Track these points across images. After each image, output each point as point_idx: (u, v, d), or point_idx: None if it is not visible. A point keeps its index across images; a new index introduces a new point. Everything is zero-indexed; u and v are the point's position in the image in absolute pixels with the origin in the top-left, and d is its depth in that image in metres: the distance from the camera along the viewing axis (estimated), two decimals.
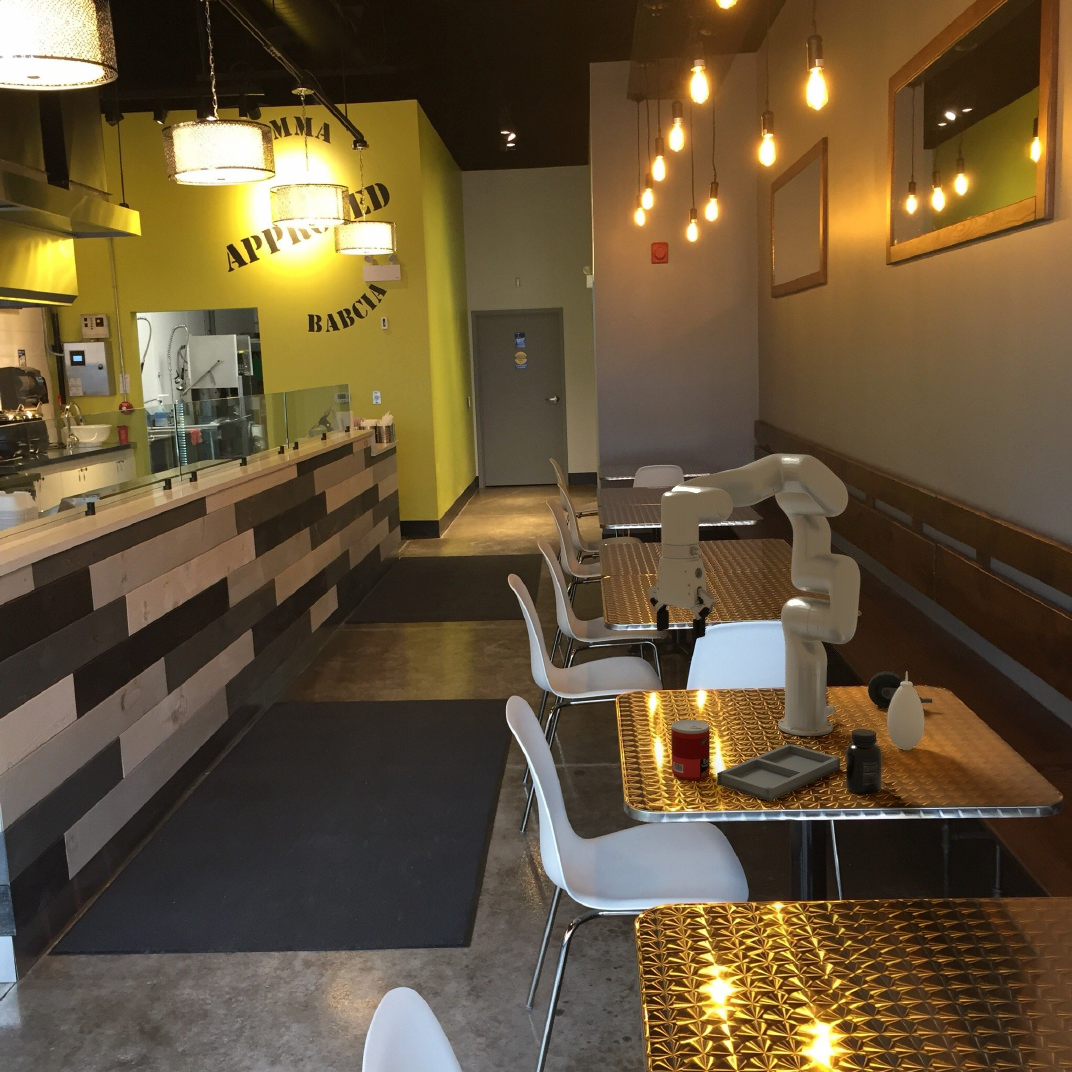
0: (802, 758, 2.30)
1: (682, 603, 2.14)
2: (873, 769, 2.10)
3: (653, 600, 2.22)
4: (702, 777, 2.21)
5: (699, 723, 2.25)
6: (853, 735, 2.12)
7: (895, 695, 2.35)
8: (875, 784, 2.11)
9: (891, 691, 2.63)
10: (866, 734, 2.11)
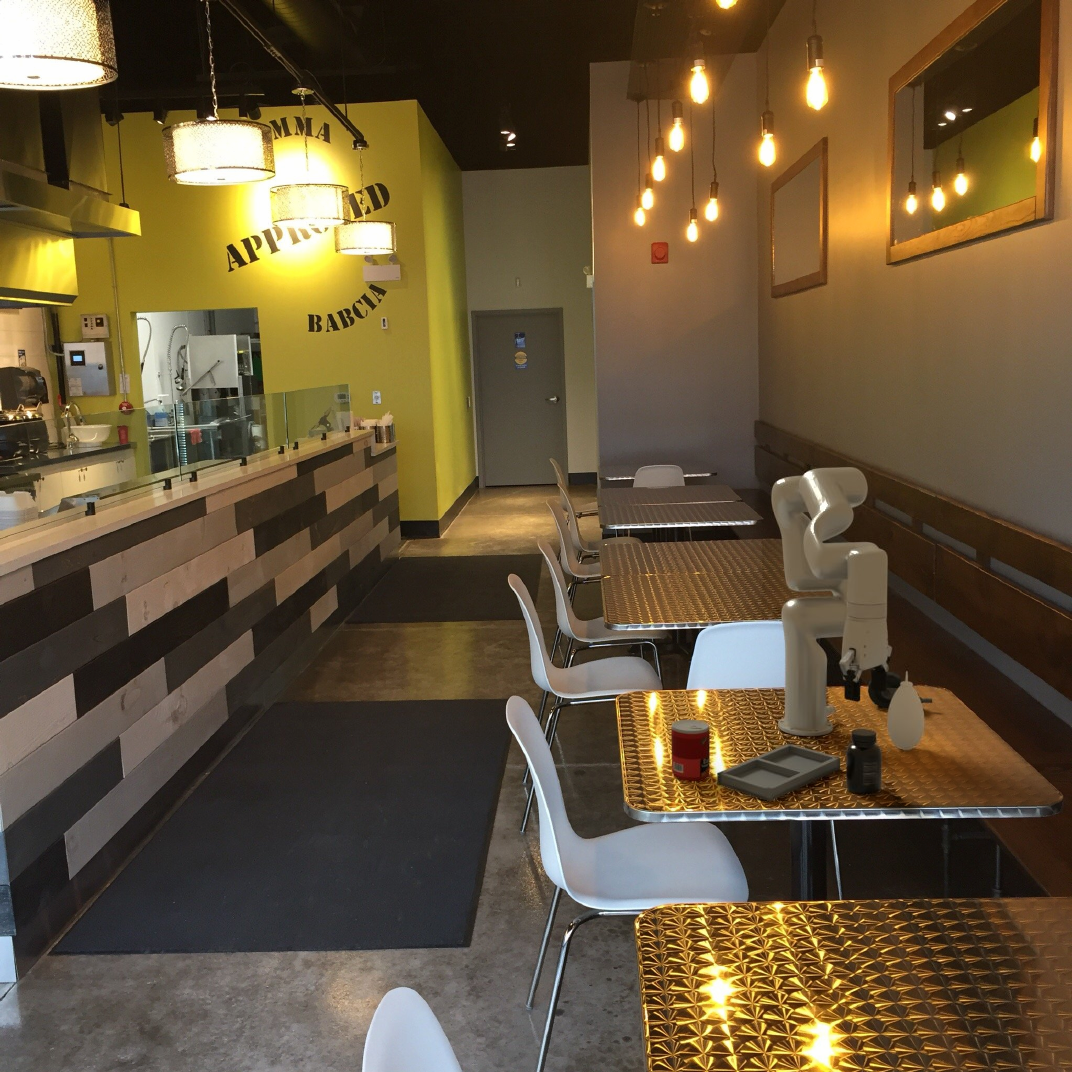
0: (802, 758, 2.30)
1: (882, 660, 2.10)
2: (873, 769, 2.10)
3: None
4: (702, 777, 2.21)
5: (699, 723, 2.25)
6: (853, 735, 2.12)
7: (895, 695, 2.35)
8: (875, 784, 2.11)
9: (891, 691, 2.63)
10: (866, 734, 2.11)
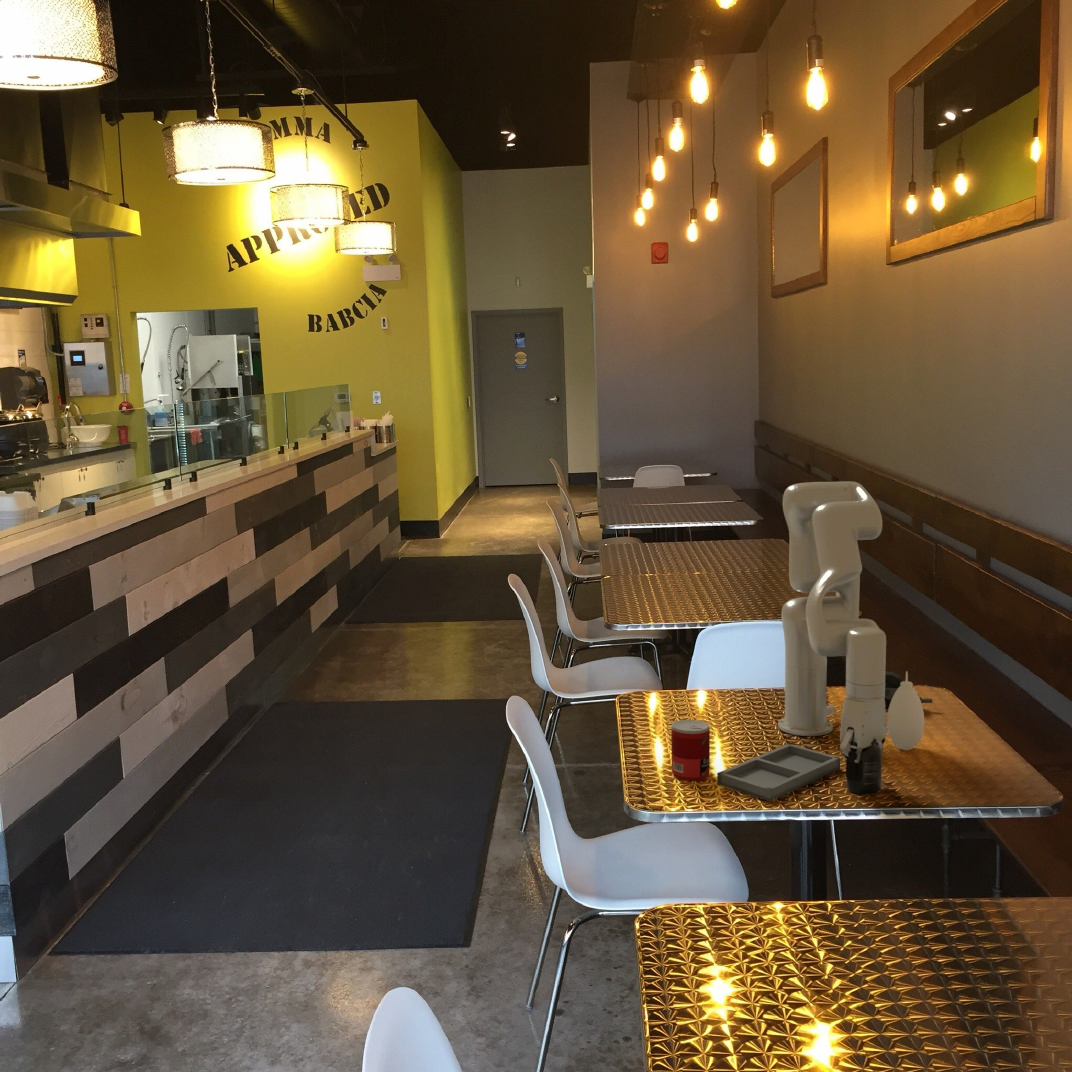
0: (802, 758, 2.30)
1: (880, 737, 2.13)
2: (874, 769, 2.10)
3: (852, 753, 2.09)
4: (702, 777, 2.21)
5: (699, 723, 2.25)
6: None
7: (895, 695, 2.35)
8: (876, 784, 2.11)
9: (891, 691, 2.63)
10: None
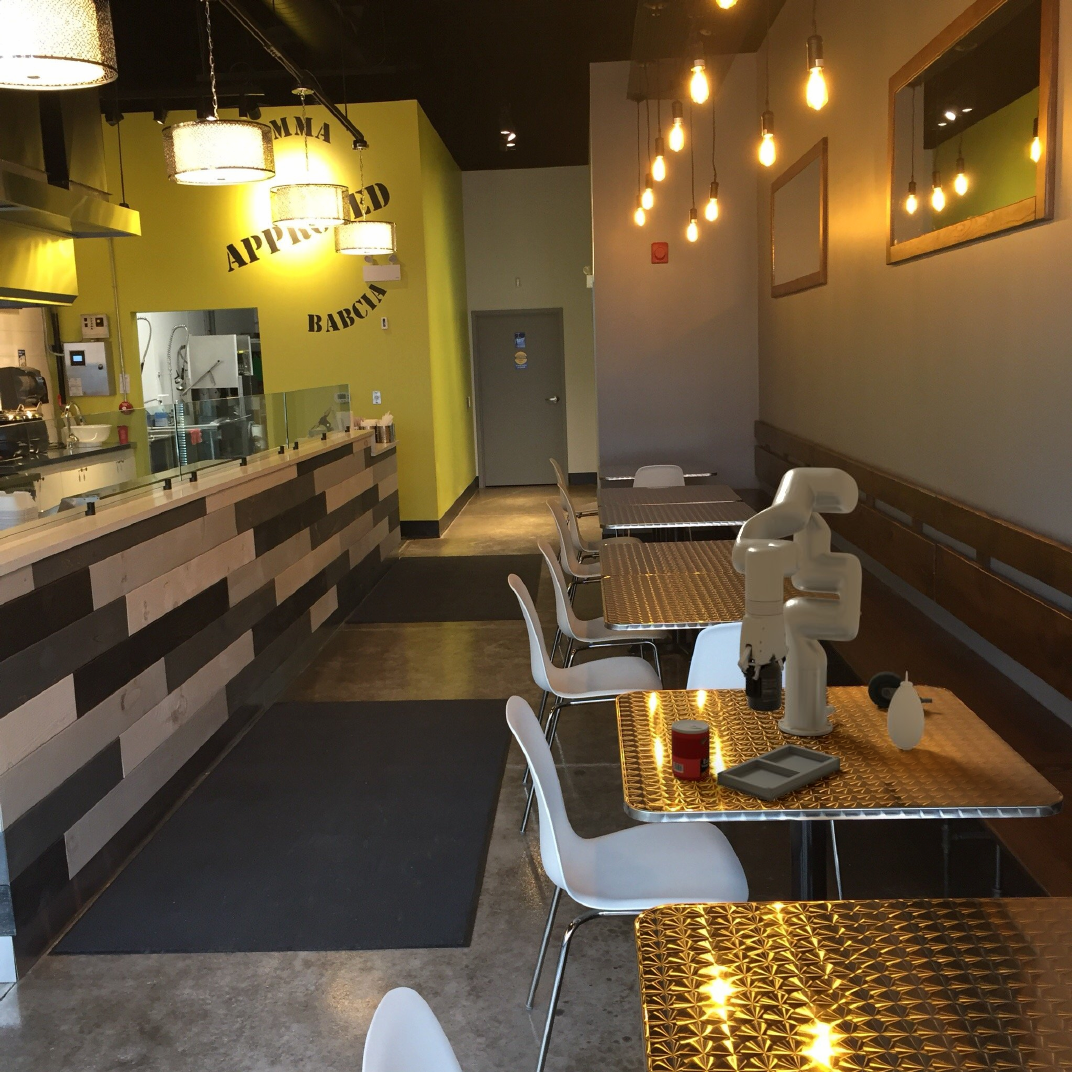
0: (802, 758, 2.30)
1: (779, 655, 2.14)
2: (772, 686, 2.12)
3: (750, 669, 2.10)
4: (702, 777, 2.21)
5: (699, 723, 2.25)
6: None
7: (895, 695, 2.35)
8: (775, 701, 2.13)
9: (891, 691, 2.63)
10: None
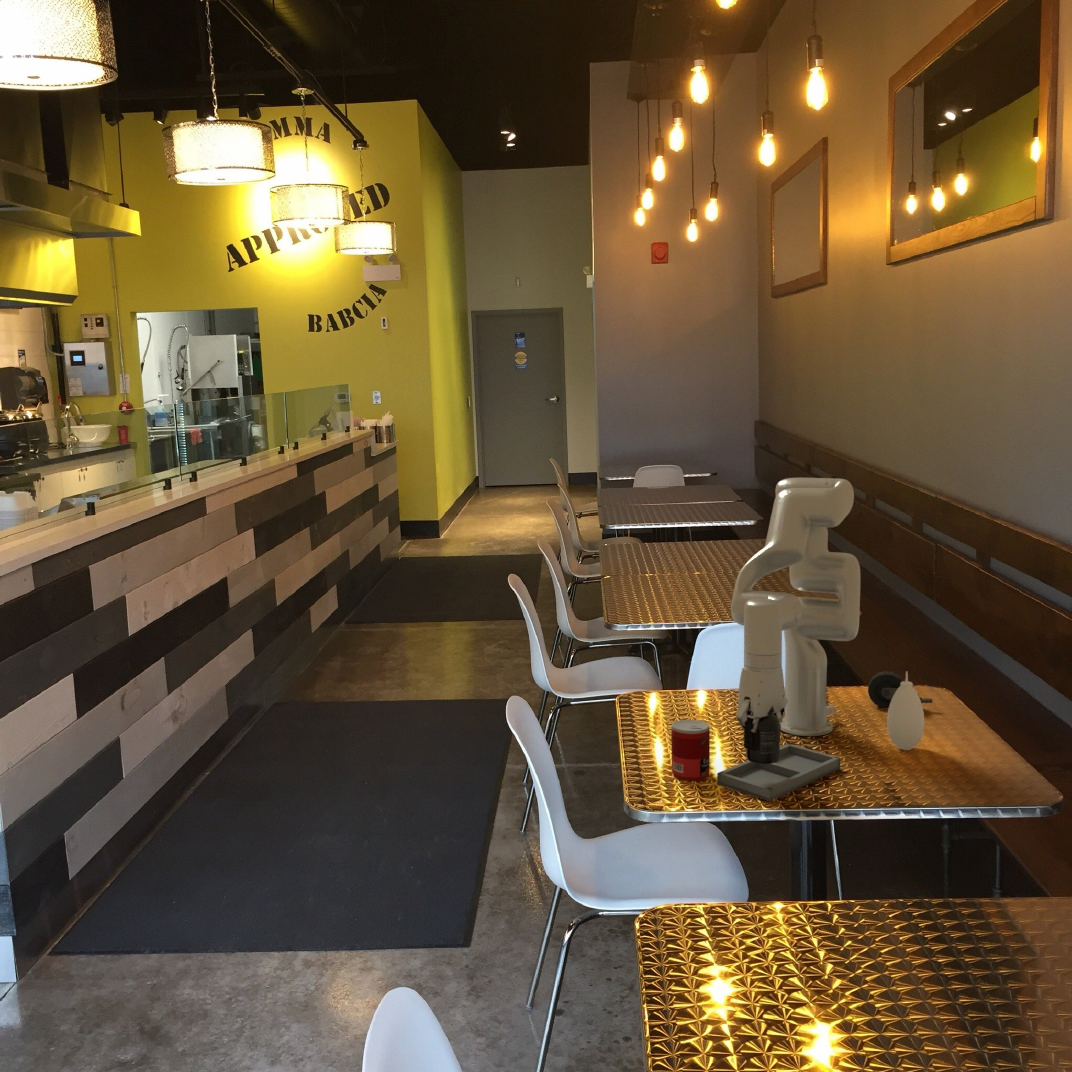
0: (802, 758, 2.30)
1: (778, 707, 2.16)
2: (770, 739, 2.14)
3: (749, 722, 2.12)
4: (702, 777, 2.21)
5: (699, 723, 2.25)
6: None
7: (895, 695, 2.35)
8: (773, 753, 2.14)
9: (891, 691, 2.63)
10: None
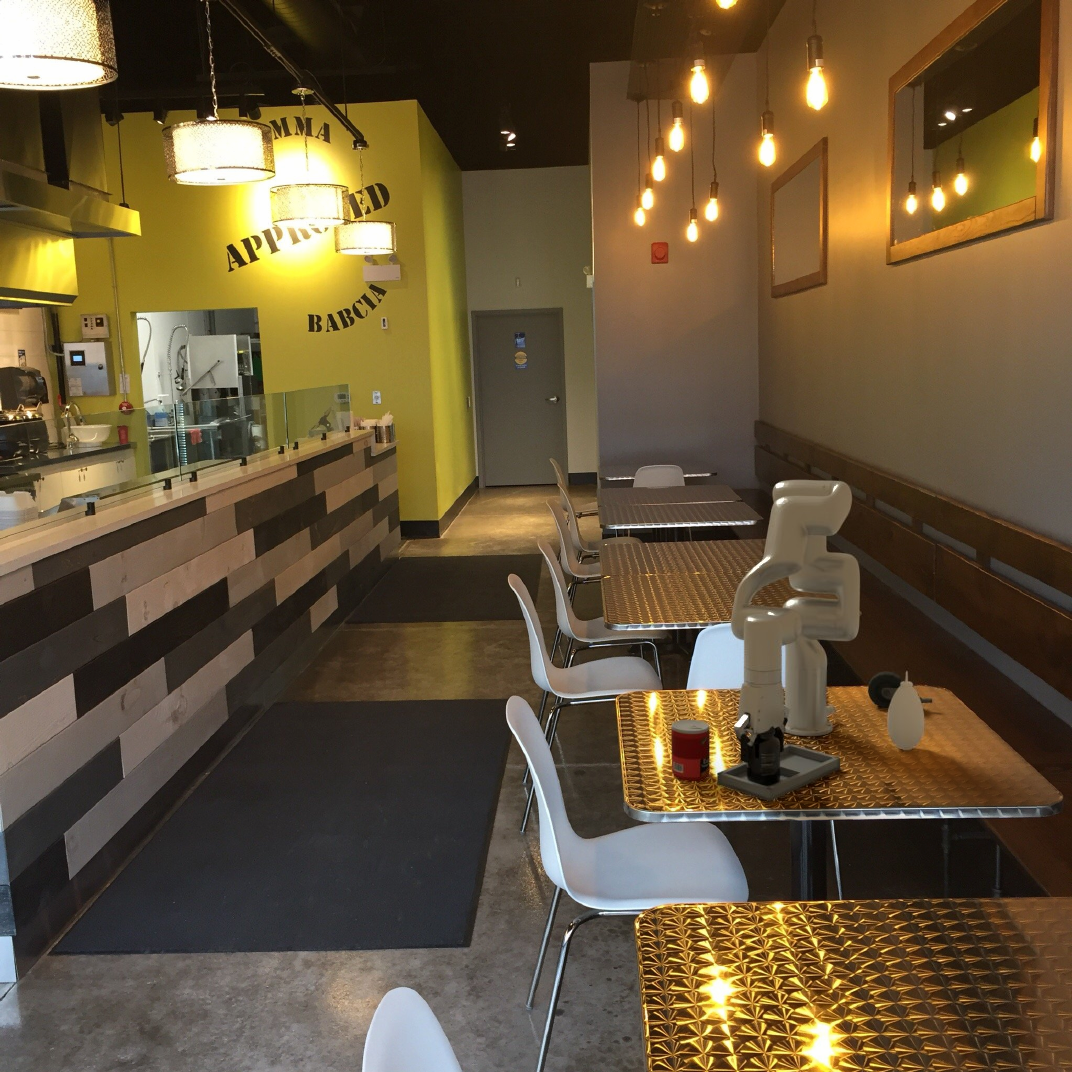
0: (802, 758, 2.30)
1: (778, 722, 2.16)
2: (771, 760, 2.14)
3: (745, 736, 2.12)
4: (702, 777, 2.21)
5: (699, 723, 2.25)
6: None
7: (895, 695, 2.34)
8: (773, 775, 2.15)
9: (891, 691, 2.63)
10: None
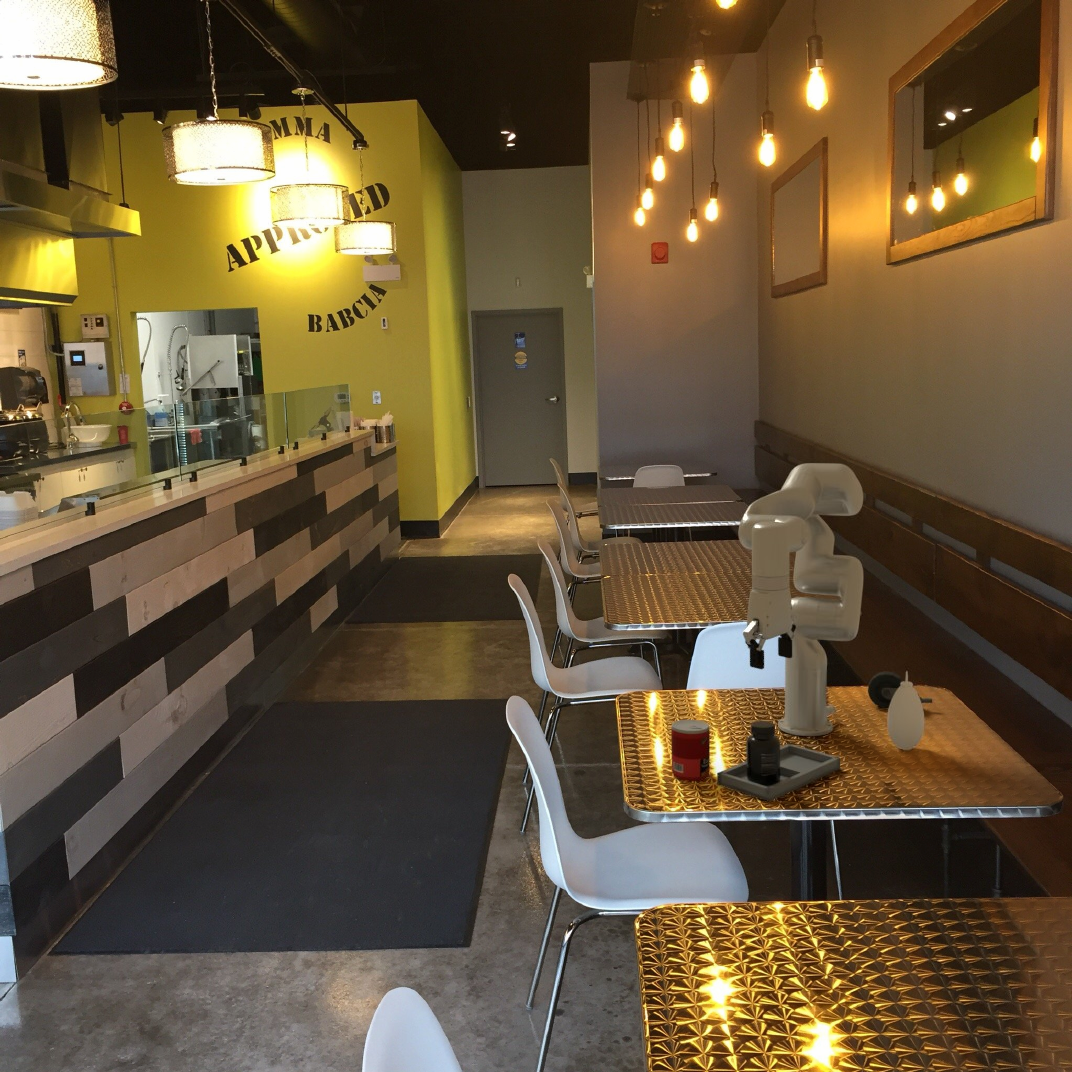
0: (802, 758, 2.30)
1: (786, 628, 2.19)
2: (771, 760, 2.14)
3: (754, 641, 2.15)
4: (702, 777, 2.21)
5: (699, 723, 2.25)
6: (752, 727, 2.16)
7: (895, 695, 2.35)
8: (773, 775, 2.15)
9: (891, 691, 2.63)
10: (764, 726, 2.15)
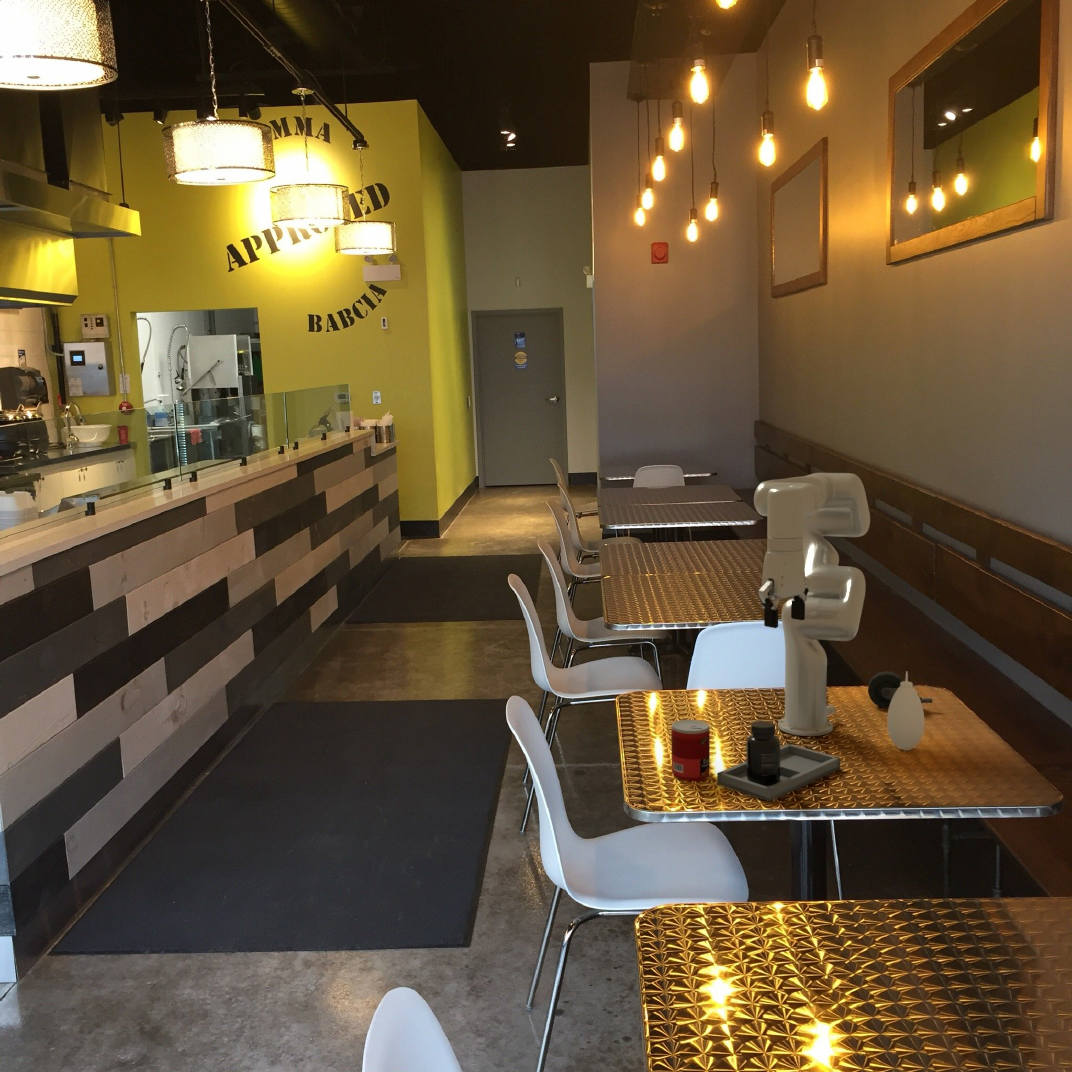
0: (802, 758, 2.30)
1: (799, 590, 2.28)
2: (771, 760, 2.14)
3: (769, 600, 2.23)
4: (702, 777, 2.21)
5: (699, 723, 2.25)
6: (752, 727, 2.16)
7: (895, 695, 2.35)
8: (773, 775, 2.15)
9: (891, 691, 2.63)
10: (764, 726, 2.15)
